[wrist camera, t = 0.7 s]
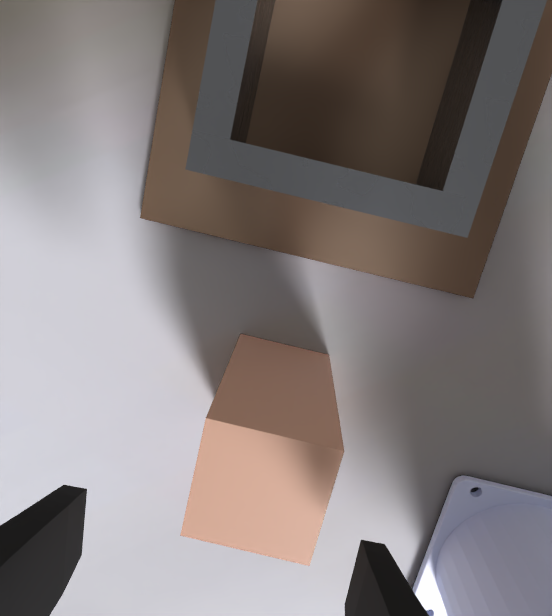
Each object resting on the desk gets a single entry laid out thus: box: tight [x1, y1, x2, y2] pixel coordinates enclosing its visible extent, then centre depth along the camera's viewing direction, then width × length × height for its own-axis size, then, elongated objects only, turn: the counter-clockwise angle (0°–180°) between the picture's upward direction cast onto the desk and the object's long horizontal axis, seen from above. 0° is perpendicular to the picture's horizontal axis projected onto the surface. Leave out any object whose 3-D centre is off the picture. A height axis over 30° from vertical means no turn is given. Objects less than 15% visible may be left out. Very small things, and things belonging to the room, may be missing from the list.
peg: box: [181, 334, 344, 566], centre depth 18 cm, size 4×4×8 cm
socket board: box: [140, 0, 552, 298], centre depth 16 cm, size 14×14×4 cm
